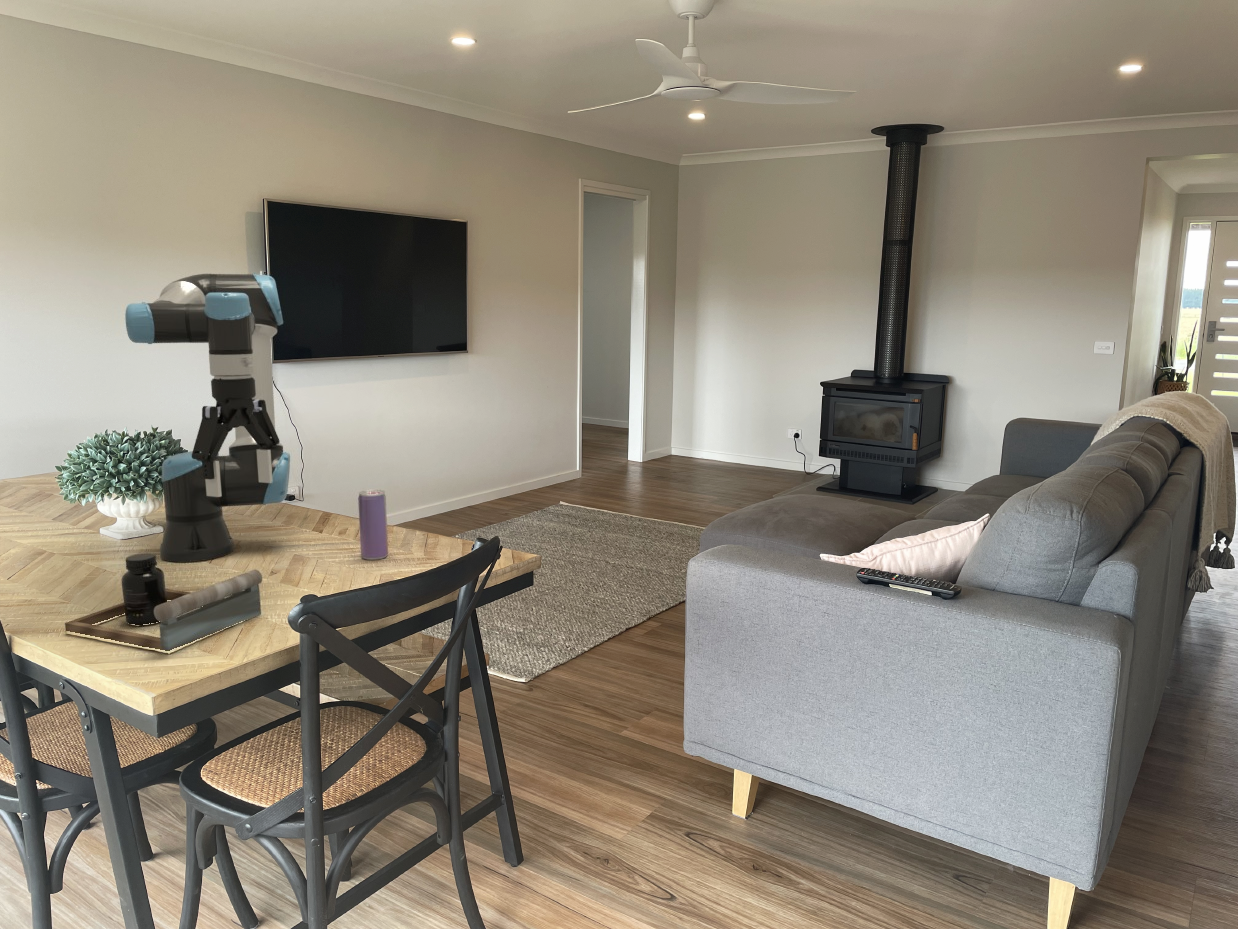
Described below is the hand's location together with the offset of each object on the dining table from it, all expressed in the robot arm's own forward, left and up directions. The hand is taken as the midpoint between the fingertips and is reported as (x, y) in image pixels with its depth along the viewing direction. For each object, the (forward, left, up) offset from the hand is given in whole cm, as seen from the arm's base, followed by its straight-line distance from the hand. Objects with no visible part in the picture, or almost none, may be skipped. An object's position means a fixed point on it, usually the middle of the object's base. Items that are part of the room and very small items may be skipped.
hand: (240, 489), depth 167 cm
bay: (-3, -16, -22) cm, 27 cm away
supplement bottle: (-8, -16, -22) cm, 28 cm away
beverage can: (+5, +33, -22) cm, 40 cm away
